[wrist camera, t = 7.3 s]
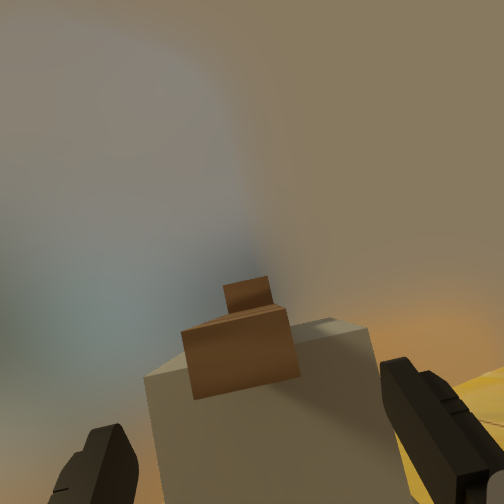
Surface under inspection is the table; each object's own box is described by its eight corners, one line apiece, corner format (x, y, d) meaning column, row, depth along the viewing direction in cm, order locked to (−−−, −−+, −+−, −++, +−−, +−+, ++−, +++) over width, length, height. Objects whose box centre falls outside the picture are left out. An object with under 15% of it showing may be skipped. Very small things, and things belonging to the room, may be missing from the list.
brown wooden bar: (301, 376, 13) (271, 246, 14) (193, 400, 13) (169, 269, 14) (279, 329, 34) (268, 278, 35) (238, 338, 34) (227, 287, 35)
